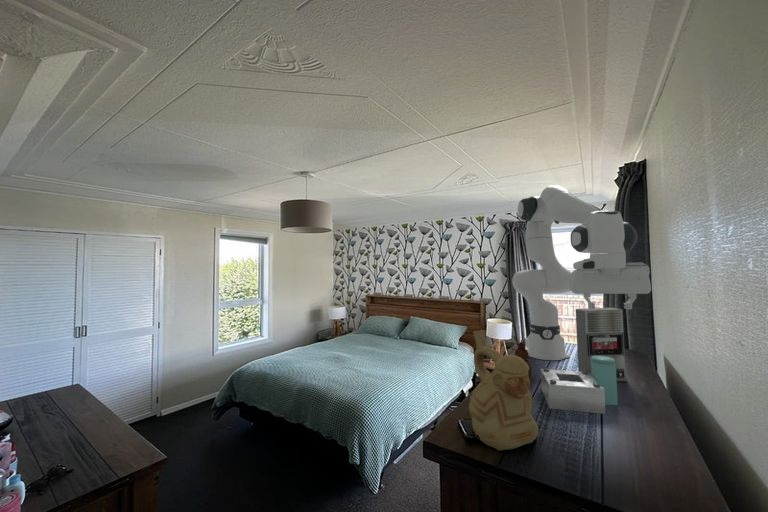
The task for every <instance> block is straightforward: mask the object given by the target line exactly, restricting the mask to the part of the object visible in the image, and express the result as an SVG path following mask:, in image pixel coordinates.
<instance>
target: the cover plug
mask: <svg viewBox="0 0 768 512" xmlns="http://www.w3.org/2000/svg"><path fill="white" fill-rule="evenodd" d="M591 375H592V376H593V377H594V378H595V379H596V380H597V381H598V382H599V383H600V384H601V386H602V387H603V388H604V391H605V406H616V407H617V406H618V404H619V402H618V401H619V400H618V384H617V383H618V381H617V379H616V364H615V360H614V359H613V358H610V357H605V356H592V357H591Z"/></svg>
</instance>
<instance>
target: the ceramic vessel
mask: <svg viewBox="0 0 768 512" xmlns="http://www.w3.org/2000/svg"><path fill="white" fill-rule="evenodd" d="M472 333H473V337H474V340H475V345H476V350H474V351H475V352H474V354H473V365H474V369H475V372H476V374H477V376H478V378H479V379H480V380H481V382H479V383H478V384H477V386H476V387H475V388H474V389H473V391H472V394H471V396H470V399H469V404H468V411H469V414H470V415H471V425H472V430H473V432H474V431H475V433H476V434H477V435H478V436H479V437H480V439H479V441H481V442H482V443H483V444H485V445H487V446H488V447H490V448H493V449H495V450H497V452H498V451H505V450H508V451H509V450H514V449H517V448H519V447H522V446H525V445H527V444H531V443H533V442H534V440H537V437H538V436H539V426H538V423H537V422H536V419H534V417H533V415H532V413H531V411H532V409H533V397H532V393H531V391H530V386H531V378H530V379H529V377H528V371H529V366H528V364H527V363H526V362H525V361H524V360H523V359H522V358H520V357H518V356H515V354H504V355H503V354H502V353H501V352H500V351H498V350H496V349H494V348H492V347H489V346H488V345H487V341H486V334H485V333H486V332H485V330H484V329H480V330H474V331H472ZM485 356H486V357H488V358H490V359H491V360H492V361H493V363H494V365H495V366H494V368H493V371H491V373H490V372H489V371H488V370H487V368H486V366H485V363H484V357H485ZM475 433H474V435H475V436H476V437H477V435H476V434H475Z"/></svg>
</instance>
